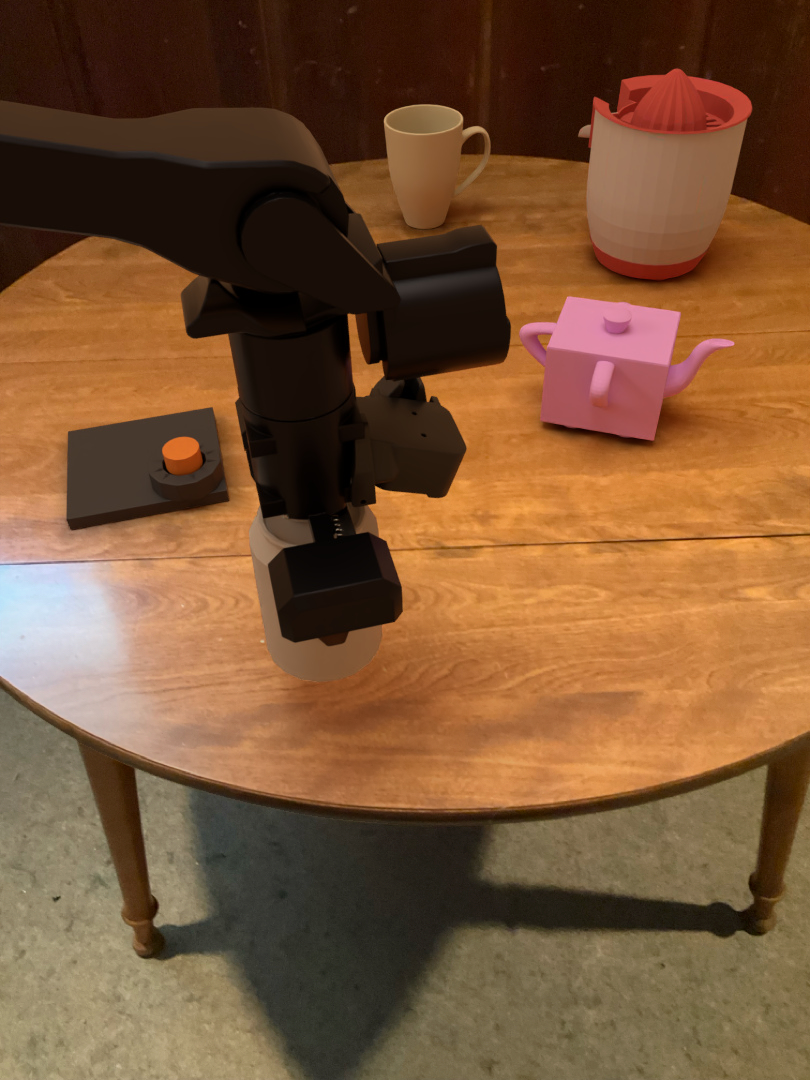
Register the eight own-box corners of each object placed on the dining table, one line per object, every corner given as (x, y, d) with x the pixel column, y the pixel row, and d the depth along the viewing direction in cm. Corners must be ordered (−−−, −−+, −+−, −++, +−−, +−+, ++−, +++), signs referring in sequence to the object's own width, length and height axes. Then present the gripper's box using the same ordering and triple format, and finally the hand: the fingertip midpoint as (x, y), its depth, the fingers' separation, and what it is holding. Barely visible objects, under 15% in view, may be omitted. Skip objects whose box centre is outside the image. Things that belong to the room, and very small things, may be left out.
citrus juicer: (606, 209, 114) (629, 31, 99) (740, 248, 106) (786, 60, 92) (537, 260, 105) (551, 73, 91) (678, 307, 97) (717, 109, 83)
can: (380, 691, 58) (375, 556, 49) (261, 690, 58) (235, 555, 50) (384, 602, 63) (380, 466, 55) (275, 601, 63) (254, 465, 55)
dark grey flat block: (70, 533, 75) (59, 506, 73) (71, 441, 84) (61, 415, 82) (229, 504, 77) (223, 477, 75) (214, 417, 86) (209, 390, 84)
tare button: (167, 479, 76) (163, 462, 74) (165, 456, 78) (161, 440, 77) (204, 472, 76) (200, 455, 75) (201, 450, 78) (197, 433, 77)
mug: (437, 246, 108) (437, 142, 100) (373, 223, 113) (367, 122, 104) (491, 212, 114) (495, 111, 106) (428, 192, 119) (427, 93, 110)
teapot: (719, 388, 87) (743, 291, 80) (704, 482, 77) (730, 381, 70) (530, 358, 91) (538, 264, 84) (495, 444, 82) (500, 345, 75)
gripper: (509, 476, 41) (494, 687, 52) (406, 275, 54) (412, 478, 65) (260, 522, 39) (299, 730, 50) (216, 304, 52) (254, 507, 63)
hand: (323, 596), depth 57 cm, fingers closed on can, 7 cm apart
